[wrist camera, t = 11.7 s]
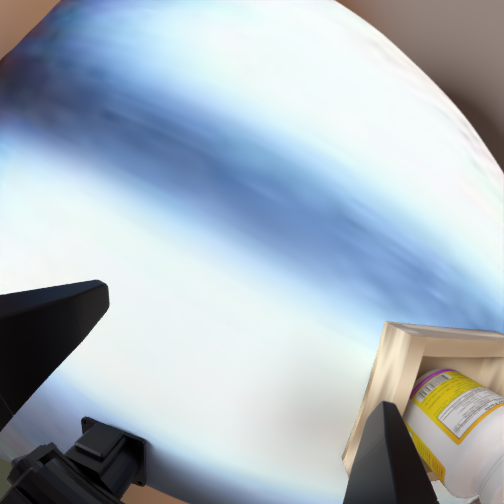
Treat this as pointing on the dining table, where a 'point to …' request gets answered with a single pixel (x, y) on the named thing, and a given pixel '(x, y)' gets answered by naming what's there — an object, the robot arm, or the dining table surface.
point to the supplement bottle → (459, 433)
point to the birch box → (425, 368)
